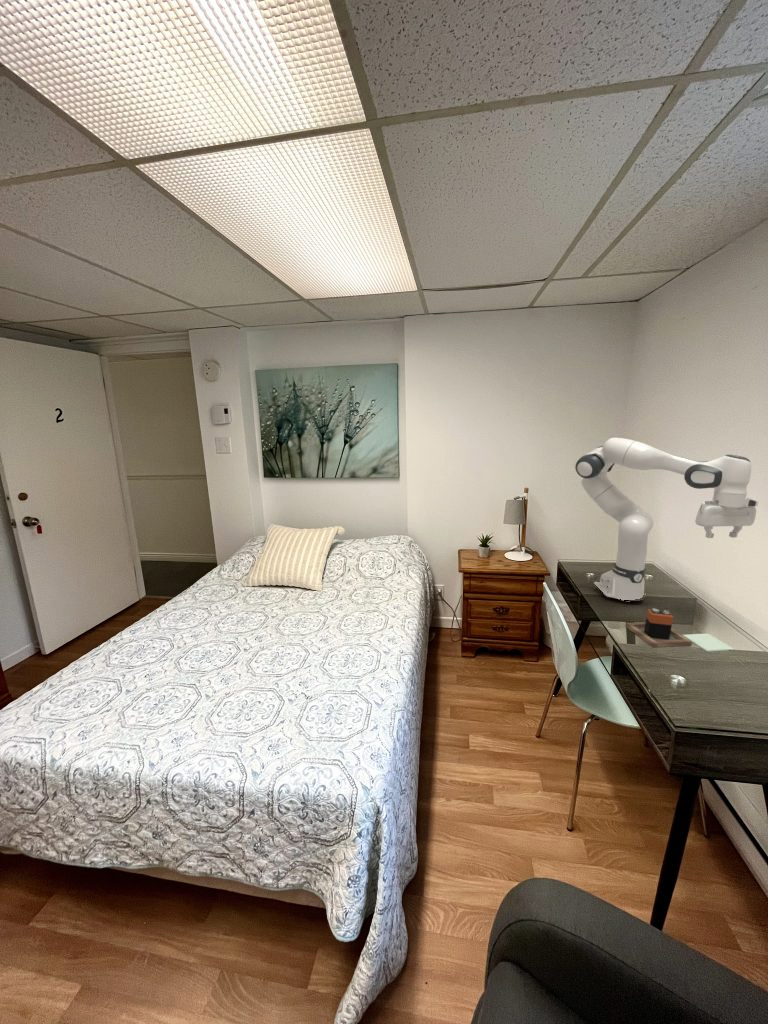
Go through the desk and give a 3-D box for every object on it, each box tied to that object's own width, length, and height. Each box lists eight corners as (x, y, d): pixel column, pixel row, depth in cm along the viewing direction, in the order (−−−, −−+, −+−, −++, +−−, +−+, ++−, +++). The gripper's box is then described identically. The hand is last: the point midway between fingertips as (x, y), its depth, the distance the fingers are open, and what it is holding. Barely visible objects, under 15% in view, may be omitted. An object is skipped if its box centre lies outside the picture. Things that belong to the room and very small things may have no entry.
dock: (625, 626, 148) (626, 623, 148) (660, 625, 149) (660, 621, 149) (653, 647, 135) (654, 643, 134) (691, 645, 136) (692, 641, 136)
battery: (643, 631, 145) (647, 606, 143) (664, 633, 143) (669, 608, 141) (648, 637, 141) (652, 611, 139) (669, 639, 139) (674, 614, 137)
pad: (682, 636, 142) (682, 634, 142) (707, 634, 143) (708, 633, 143) (706, 651, 132) (707, 650, 132) (734, 650, 133) (734, 649, 133)
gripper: (709, 502, 137) (702, 540, 140) (762, 501, 139) (754, 539, 142) (694, 499, 143) (687, 535, 147) (745, 498, 145) (737, 534, 148)
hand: (721, 537), depth 144 cm, fingers open, 8 cm apart
